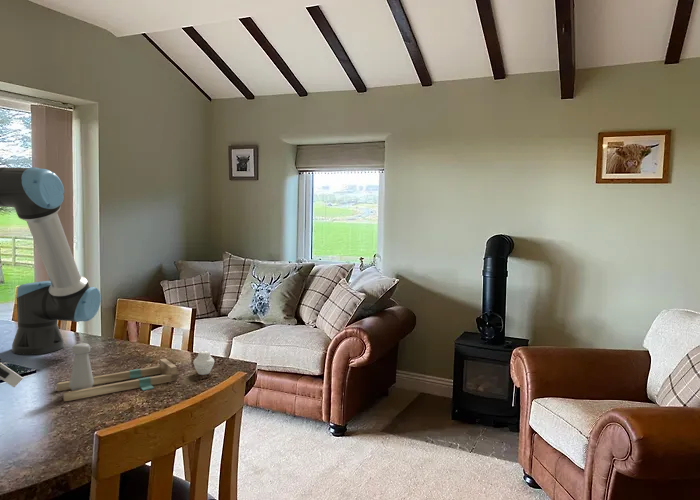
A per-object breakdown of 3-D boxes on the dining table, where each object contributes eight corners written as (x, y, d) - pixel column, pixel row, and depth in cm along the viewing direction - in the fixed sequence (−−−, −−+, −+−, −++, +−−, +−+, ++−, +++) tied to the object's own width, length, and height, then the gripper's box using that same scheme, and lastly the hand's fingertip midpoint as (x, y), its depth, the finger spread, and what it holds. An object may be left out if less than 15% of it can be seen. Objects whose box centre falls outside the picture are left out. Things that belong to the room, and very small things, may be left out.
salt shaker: (83, 396, 135) (82, 347, 134) (64, 394, 137) (63, 346, 136) (98, 389, 141) (98, 342, 140) (80, 387, 142) (79, 340, 141)
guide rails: (55, 386, 142) (54, 372, 142) (161, 368, 160) (161, 355, 160) (66, 405, 129) (66, 389, 129) (180, 383, 148) (180, 369, 147)
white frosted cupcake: (216, 374, 156) (216, 352, 155) (195, 377, 153) (196, 354, 152) (211, 368, 161) (211, 346, 161) (191, 371, 158) (191, 349, 158)
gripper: (-84, 331, 121) (2, 387, 133) (-86, 342, 111) (8, 402, 123) (-56, 306, 124) (26, 363, 136) (-55, 316, 114) (34, 377, 126)
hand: (18, 382), depth 129 cm, fingers closed
